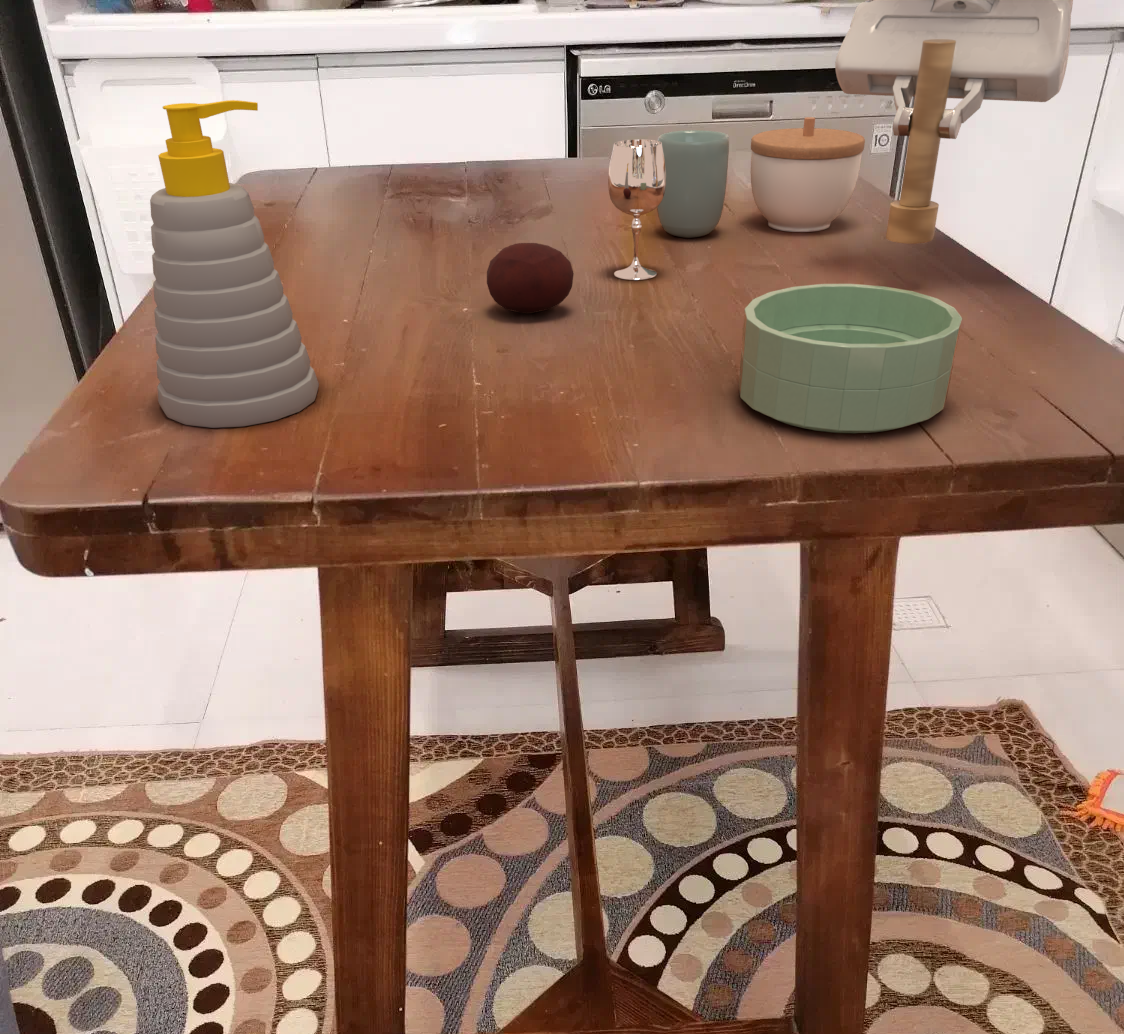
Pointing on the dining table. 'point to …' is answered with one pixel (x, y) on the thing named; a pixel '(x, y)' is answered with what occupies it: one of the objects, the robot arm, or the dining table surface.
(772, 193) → the lidded bowl
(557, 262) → the potato
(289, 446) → the dining table surface
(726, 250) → the dining table surface
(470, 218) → the dining table surface
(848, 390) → the mixing bowl
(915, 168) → the muddler
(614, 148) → the wineglass
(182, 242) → the soap bottle
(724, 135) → the cup
